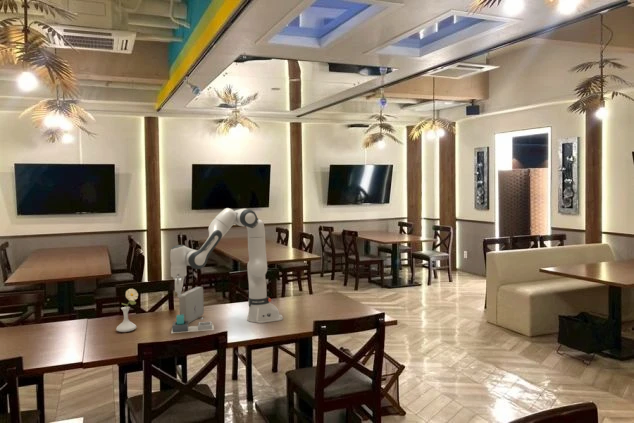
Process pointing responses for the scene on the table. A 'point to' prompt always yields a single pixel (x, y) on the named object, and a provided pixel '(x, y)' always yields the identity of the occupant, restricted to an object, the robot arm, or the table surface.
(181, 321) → the plug
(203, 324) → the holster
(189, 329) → the board
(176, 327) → the port
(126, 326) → the flower in vase
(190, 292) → the network device
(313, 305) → the table surface
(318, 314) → the table surface
